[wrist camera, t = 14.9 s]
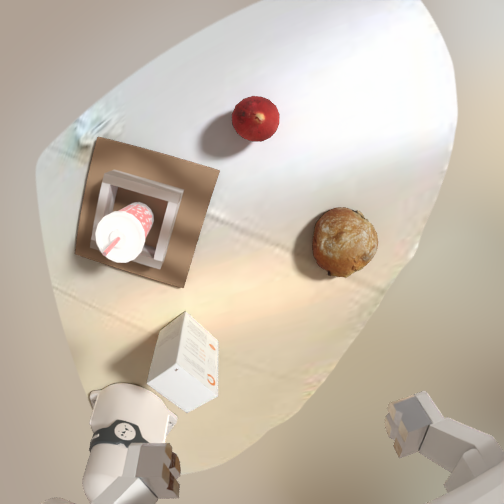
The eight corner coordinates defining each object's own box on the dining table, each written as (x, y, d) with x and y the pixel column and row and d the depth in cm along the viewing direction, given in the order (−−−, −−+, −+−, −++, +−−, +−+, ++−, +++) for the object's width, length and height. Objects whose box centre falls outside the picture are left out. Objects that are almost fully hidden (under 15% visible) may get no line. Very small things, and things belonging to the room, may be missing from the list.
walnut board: (184, 285, 48) (180, 301, 44) (77, 251, 45) (64, 263, 40) (219, 170, 43) (219, 174, 38) (99, 136, 39) (86, 137, 35)
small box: (159, 330, 51) (144, 383, 39) (186, 309, 50) (176, 362, 38) (192, 359, 53) (187, 414, 41) (219, 341, 52) (219, 396, 40)
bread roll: (366, 223, 51) (393, 215, 43) (354, 283, 50) (382, 284, 42) (313, 204, 49) (335, 192, 41) (298, 269, 48) (320, 267, 40)
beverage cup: (116, 234, 44) (77, 274, 30) (120, 193, 42) (79, 219, 28) (155, 242, 44) (130, 286, 31) (162, 201, 42) (135, 230, 29)
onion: (225, 132, 41) (225, 131, 33) (240, 93, 39) (244, 84, 32) (265, 147, 42) (274, 149, 35) (281, 109, 40) (293, 103, 33)
